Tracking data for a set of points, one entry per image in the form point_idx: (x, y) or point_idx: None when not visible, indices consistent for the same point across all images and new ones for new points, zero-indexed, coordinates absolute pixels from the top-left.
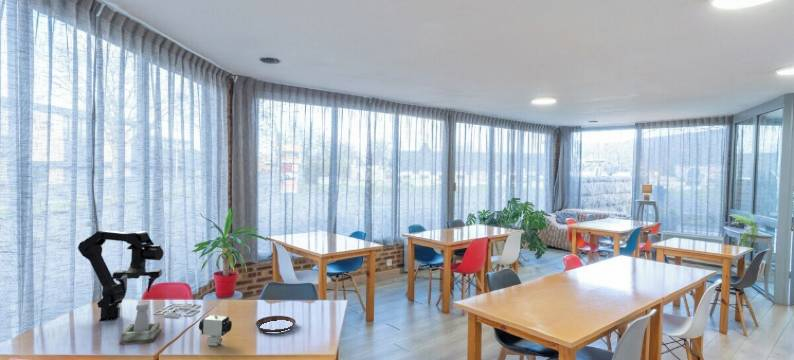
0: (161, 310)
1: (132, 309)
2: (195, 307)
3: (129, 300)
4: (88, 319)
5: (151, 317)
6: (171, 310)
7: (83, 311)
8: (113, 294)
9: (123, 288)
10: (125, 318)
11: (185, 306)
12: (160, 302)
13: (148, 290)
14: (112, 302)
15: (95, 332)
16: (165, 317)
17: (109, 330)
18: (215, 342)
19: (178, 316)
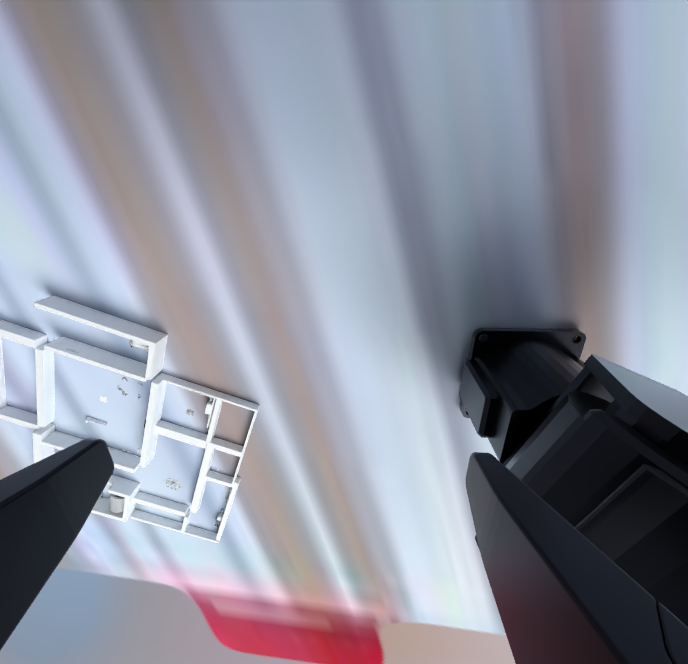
0: (229, 448)
1: (411, 503)
2: (34, 452)
3: (457, 619)
4: None
5: (248, 347)
6: (151, 421)
7: None
8: (663, 467)
9: (573, 539)
10: (412, 357)
11: (116, 485)
12: (296, 573)
13: (51, 461)
14: (580, 398)
15: (586, 25)
16: (155, 330)
17: (473, 69)
18: None
19: (43, 299)
